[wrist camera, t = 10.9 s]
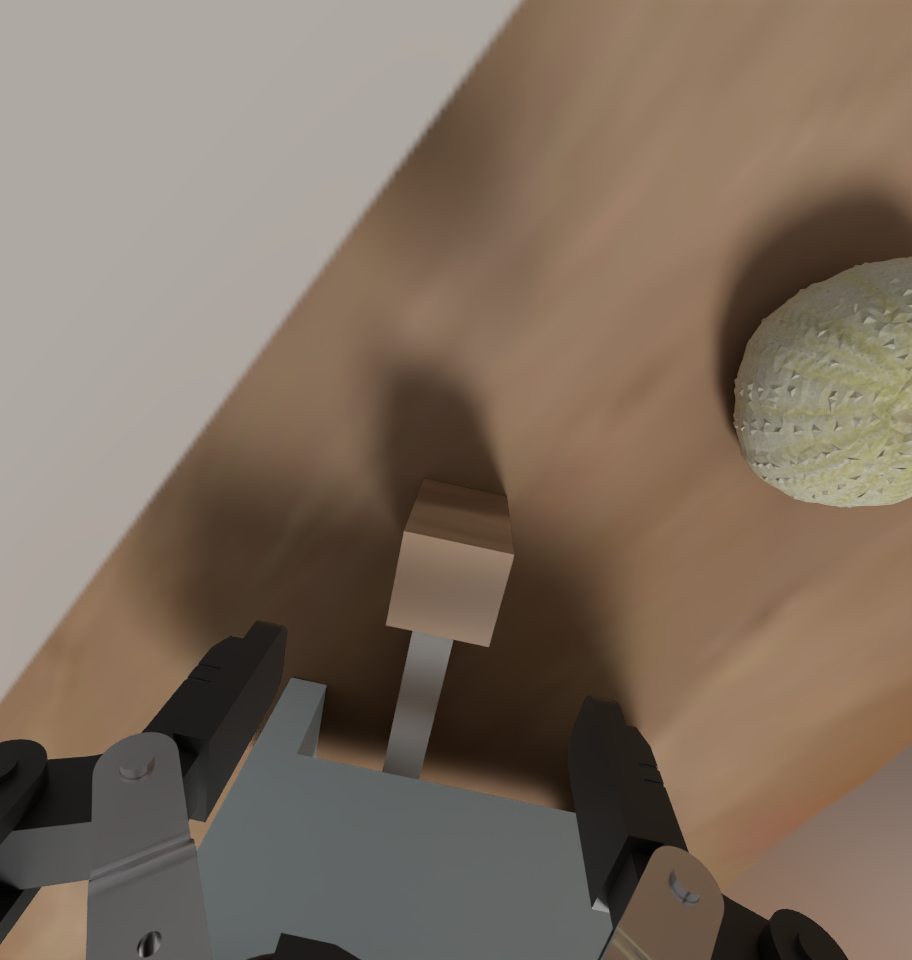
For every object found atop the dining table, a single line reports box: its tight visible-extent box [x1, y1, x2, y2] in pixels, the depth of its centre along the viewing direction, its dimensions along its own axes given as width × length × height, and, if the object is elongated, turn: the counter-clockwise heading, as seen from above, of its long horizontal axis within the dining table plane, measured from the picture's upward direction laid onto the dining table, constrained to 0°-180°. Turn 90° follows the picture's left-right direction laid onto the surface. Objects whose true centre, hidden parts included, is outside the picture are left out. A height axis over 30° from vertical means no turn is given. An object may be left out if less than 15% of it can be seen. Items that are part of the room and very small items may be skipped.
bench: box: [197, 677, 613, 960], centre depth 22 cm, size 9×21×14 cm, turn 78°
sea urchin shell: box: [733, 256, 912, 508], centre depth 19 cm, size 9×8×8 cm
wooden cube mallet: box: [382, 478, 514, 780], centre depth 23 cm, size 16×4×6 cm, turn 168°
